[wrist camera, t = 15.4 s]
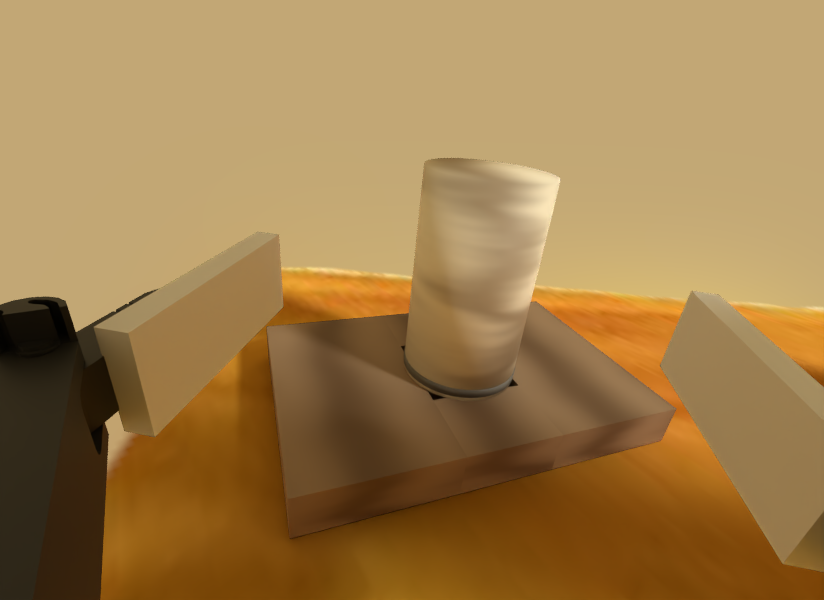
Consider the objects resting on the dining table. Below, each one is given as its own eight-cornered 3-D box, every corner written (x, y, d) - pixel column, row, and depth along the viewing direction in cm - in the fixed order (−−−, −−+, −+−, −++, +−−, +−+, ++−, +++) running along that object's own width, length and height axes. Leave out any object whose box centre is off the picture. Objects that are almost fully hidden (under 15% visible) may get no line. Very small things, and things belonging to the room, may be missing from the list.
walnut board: (529, 326, 37) (536, 301, 36) (661, 440, 26) (676, 408, 25) (268, 357, 30) (266, 326, 29) (289, 538, 18) (287, 499, 17)
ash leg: (474, 358, 32) (512, 160, 25) (526, 420, 26) (592, 186, 20) (386, 370, 29) (404, 155, 23) (423, 442, 24) (460, 183, 17)
